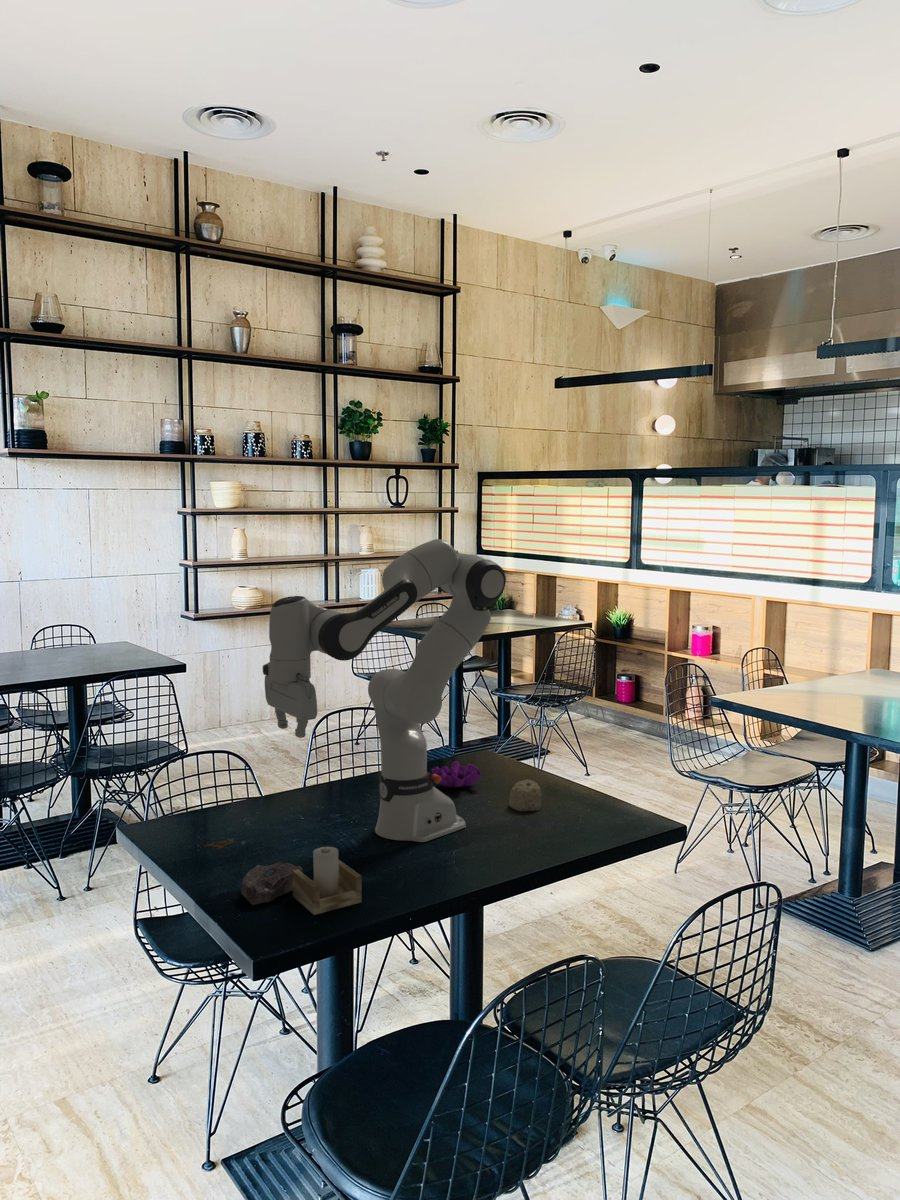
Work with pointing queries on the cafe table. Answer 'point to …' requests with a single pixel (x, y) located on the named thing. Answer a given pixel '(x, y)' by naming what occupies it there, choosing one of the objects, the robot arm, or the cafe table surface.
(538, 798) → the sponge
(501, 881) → the cafe table surface
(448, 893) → the cafe table surface
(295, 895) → the holder
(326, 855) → the roll
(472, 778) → the purple coral
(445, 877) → the cafe table surface
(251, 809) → the cafe table surface
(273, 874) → the rock
